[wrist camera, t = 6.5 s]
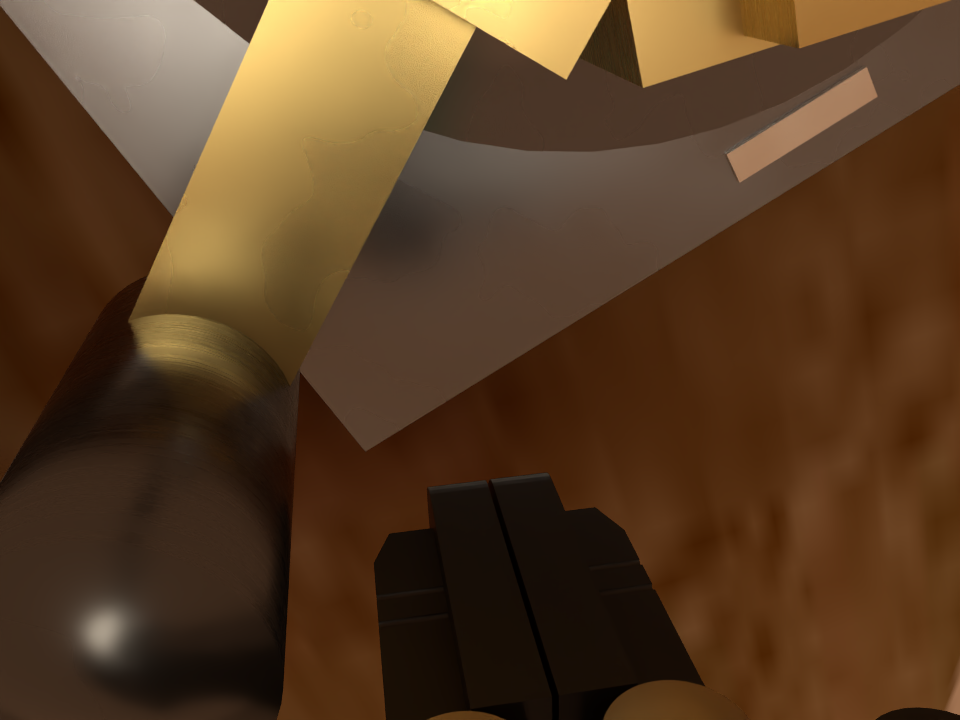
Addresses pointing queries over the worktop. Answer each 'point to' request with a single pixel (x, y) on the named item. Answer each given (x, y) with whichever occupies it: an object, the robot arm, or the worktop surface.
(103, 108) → the bearing housing
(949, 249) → the worktop surface
